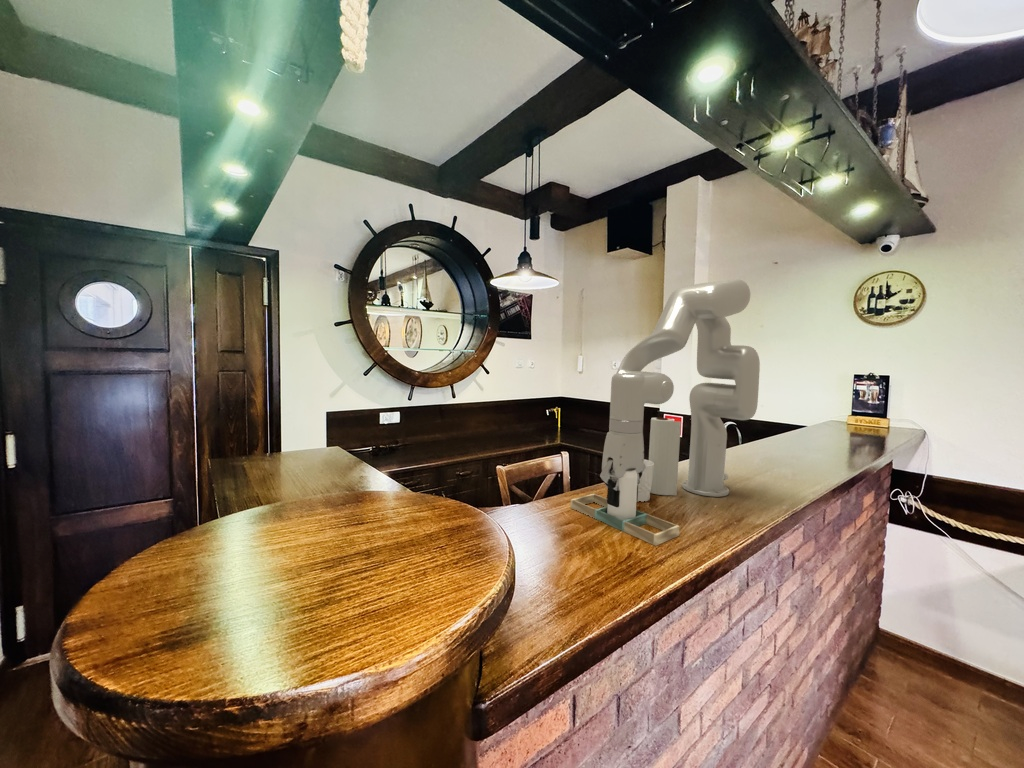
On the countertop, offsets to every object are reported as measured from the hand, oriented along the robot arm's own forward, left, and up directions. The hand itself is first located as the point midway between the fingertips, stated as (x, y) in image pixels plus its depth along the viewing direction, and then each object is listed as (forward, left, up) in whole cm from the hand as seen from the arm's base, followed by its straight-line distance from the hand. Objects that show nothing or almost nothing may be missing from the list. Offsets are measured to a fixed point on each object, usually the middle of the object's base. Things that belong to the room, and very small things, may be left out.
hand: (622, 501), depth 98 cm
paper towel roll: (-26, -7, -5) cm, 27 cm away
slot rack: (0, 0, -5) cm, 5 cm away
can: (0, 0, -4) cm, 4 cm away
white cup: (-17, -8, -5) cm, 19 cm away
